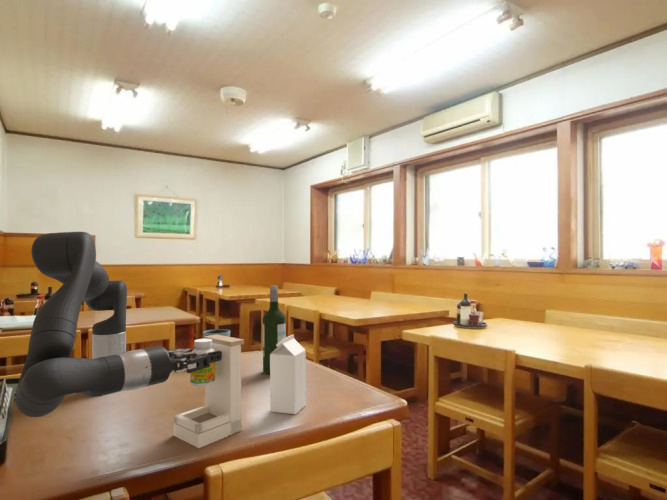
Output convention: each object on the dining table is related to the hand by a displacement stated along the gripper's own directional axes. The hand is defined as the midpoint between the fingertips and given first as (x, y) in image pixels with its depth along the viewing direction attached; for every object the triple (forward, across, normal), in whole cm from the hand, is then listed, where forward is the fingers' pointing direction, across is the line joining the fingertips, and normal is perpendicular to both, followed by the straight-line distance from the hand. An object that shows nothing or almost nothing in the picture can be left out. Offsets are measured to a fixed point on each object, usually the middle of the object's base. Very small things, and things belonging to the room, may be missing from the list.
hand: (212, 353), depth 96 cm
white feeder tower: (-1, 0, +18) cm, 18 cm away
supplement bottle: (-3, 0, +6) cm, 7 cm away
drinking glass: (+38, +53, +18) cm, 67 cm away
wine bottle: (+42, +25, +18) cm, 52 cm away
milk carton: (+21, -4, +18) cm, 28 cm away
